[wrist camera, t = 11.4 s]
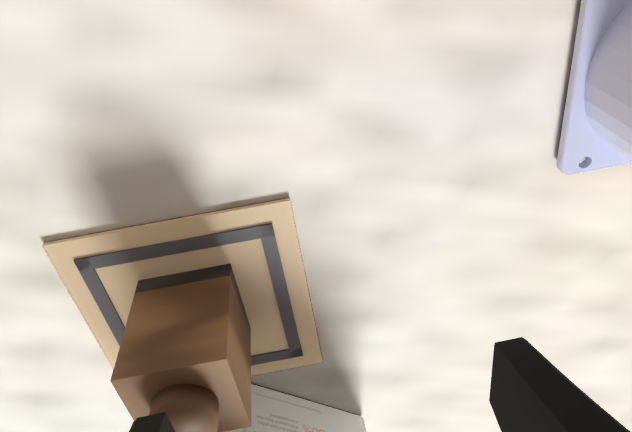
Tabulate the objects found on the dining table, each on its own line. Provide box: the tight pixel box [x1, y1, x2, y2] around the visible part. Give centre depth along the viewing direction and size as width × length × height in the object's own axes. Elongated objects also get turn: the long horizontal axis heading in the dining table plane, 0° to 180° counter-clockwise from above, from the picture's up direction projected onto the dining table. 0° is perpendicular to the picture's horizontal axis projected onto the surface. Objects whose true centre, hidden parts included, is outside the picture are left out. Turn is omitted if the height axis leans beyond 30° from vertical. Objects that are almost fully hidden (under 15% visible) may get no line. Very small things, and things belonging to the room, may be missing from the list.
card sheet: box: [42, 198, 323, 376], centre depth 23 cm, size 10×10×1 cm
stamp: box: [111, 263, 251, 432], centre depth 20 cm, size 4×4×6 cm
